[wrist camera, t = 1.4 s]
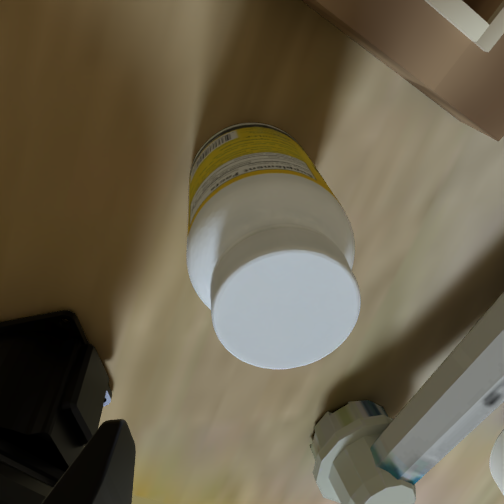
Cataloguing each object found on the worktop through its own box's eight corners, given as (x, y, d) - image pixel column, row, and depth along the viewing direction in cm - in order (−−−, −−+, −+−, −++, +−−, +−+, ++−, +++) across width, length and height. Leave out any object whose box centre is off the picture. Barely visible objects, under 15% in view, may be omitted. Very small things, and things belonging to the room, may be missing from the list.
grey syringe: (766, 200, 19) (392, 577, 25) (622, 165, 25) (348, 476, 31) (708, 131, 17) (319, 556, 23) (568, 111, 23) (287, 452, 29)
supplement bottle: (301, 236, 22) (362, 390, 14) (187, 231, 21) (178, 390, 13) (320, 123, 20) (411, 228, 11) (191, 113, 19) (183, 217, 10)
